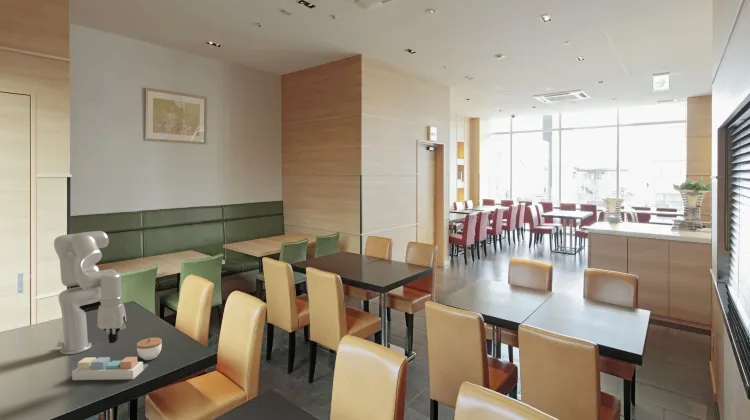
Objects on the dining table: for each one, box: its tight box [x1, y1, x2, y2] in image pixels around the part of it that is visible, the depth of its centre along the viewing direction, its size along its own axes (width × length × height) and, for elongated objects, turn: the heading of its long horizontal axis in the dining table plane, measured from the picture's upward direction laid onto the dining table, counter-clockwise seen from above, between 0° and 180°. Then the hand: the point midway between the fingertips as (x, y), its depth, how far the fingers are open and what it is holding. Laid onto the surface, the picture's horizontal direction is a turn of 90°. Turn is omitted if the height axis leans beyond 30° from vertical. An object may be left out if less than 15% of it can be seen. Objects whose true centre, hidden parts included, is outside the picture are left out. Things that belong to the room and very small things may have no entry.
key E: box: [77, 356, 97, 370], centre depth 173 cm, size 5×5×5 cm
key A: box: [119, 356, 139, 369], centre depth 173 cm, size 5×5×5 cm
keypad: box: [71, 361, 149, 381], centre depth 175 cm, size 26×12×4 cm, turn 92°
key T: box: [106, 360, 121, 369], centre depth 173 cm, size 5×5×5 cm
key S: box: [92, 356, 111, 370], centre depth 173 cm, size 5×5×5 cm
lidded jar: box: [135, 337, 163, 361], centre depth 190 cm, size 11×11×9 cm
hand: (113, 341), depth 172 cm, fingers closed
